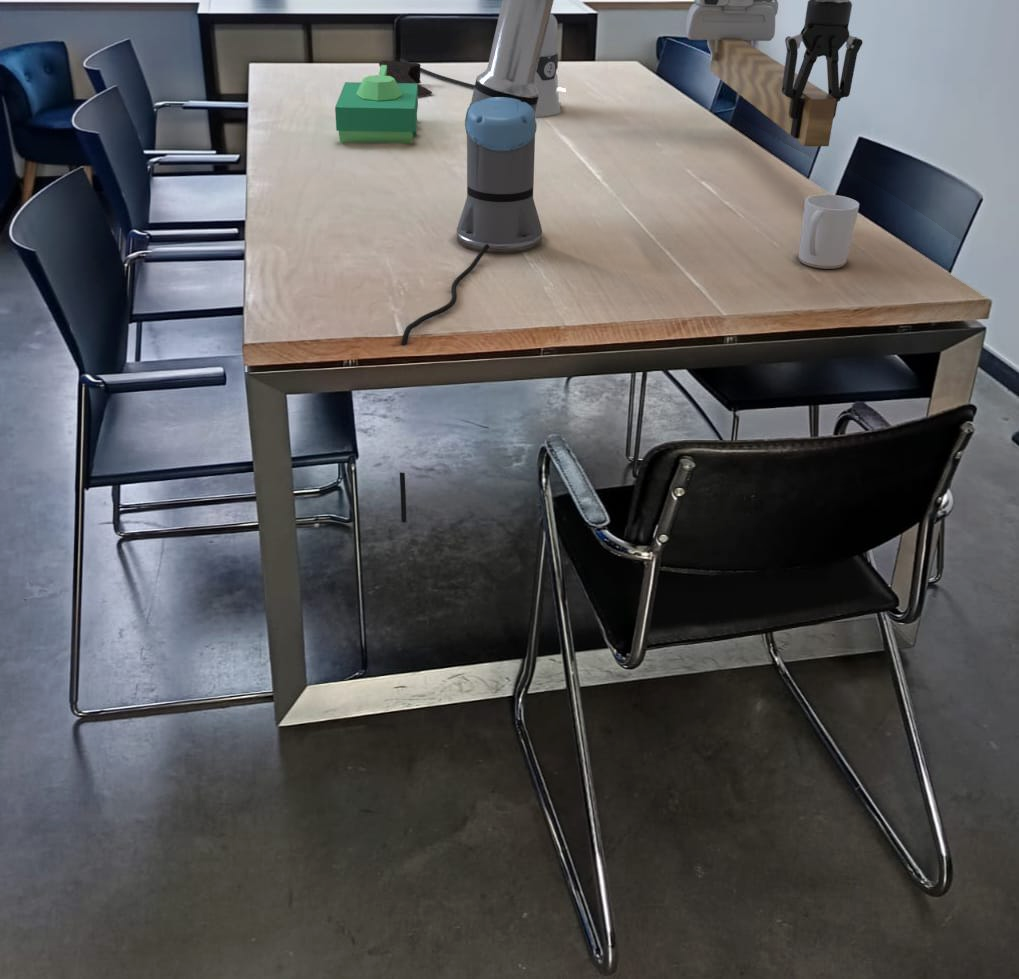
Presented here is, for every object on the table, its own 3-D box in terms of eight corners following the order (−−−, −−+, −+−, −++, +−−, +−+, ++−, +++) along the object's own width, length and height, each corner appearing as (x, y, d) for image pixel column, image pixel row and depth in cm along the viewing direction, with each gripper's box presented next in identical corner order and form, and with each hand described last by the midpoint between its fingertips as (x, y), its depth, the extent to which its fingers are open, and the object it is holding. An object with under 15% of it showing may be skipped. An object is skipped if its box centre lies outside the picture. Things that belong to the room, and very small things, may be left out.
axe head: (443, 87, 294) (392, 77, 287) (436, 115, 299) (385, 106, 292) (421, 62, 307) (371, 52, 300) (414, 89, 311) (365, 80, 304)
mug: (809, 248, 195) (819, 191, 189) (856, 260, 190) (868, 201, 185) (780, 264, 188) (790, 205, 182) (829, 277, 183) (840, 216, 177)
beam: (828, 146, 198) (836, 99, 194) (804, 146, 198) (811, 98, 193) (728, 71, 258) (733, 33, 253) (710, 71, 257) (714, 33, 253)
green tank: (418, 61, 273) (414, 91, 243) (418, 112, 279) (415, 147, 249) (346, 59, 272) (334, 89, 242) (349, 110, 278) (337, 146, 249)
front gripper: (871, -4, 193) (847, 131, 206) (774, -5, 192) (756, 131, 204) (887, 2, 187) (861, 141, 199) (787, 1, 186) (767, 141, 198)
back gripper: (775, -6, 248) (766, 58, 255) (686, -8, 246) (680, 57, 254) (783, -2, 243) (774, 64, 250) (693, -4, 241) (686, 62, 248)
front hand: (808, 136), depth 202 cm, fingers closed on beam, 5 cm apart
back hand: (726, 60), depth 252 cm, fingers closed on beam, 4 cm apart
